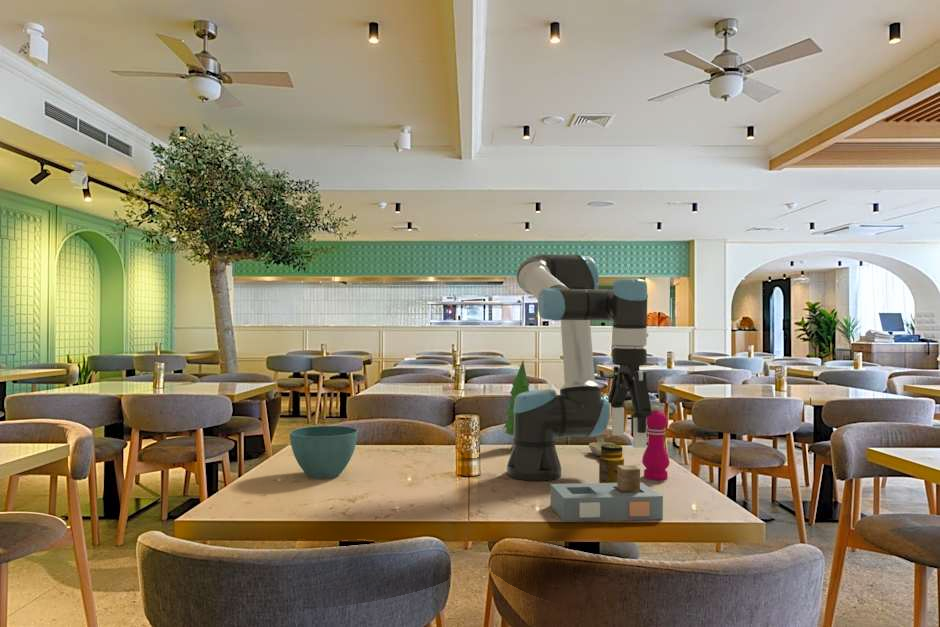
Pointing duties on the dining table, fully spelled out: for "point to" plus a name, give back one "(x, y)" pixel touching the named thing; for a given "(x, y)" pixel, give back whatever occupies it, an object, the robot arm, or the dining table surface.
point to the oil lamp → (599, 443)
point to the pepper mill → (656, 447)
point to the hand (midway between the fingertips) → (628, 441)
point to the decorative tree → (518, 387)
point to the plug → (628, 479)
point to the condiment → (610, 462)
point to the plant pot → (323, 449)
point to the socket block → (604, 502)
